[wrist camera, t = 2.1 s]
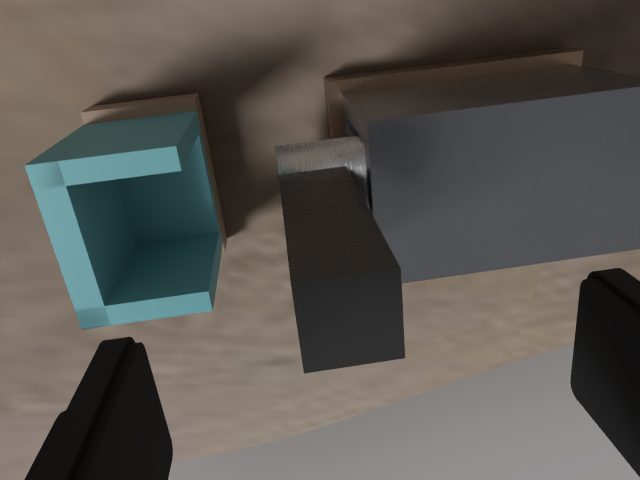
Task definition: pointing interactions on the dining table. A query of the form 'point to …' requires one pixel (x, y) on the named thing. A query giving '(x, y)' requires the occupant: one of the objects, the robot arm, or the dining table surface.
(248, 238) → the dining table surface
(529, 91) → the tube sleeve
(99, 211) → the far socket
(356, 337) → the tube
